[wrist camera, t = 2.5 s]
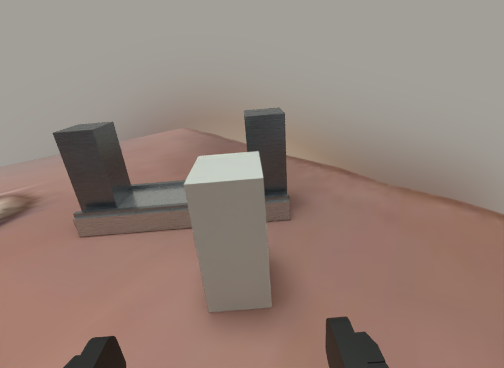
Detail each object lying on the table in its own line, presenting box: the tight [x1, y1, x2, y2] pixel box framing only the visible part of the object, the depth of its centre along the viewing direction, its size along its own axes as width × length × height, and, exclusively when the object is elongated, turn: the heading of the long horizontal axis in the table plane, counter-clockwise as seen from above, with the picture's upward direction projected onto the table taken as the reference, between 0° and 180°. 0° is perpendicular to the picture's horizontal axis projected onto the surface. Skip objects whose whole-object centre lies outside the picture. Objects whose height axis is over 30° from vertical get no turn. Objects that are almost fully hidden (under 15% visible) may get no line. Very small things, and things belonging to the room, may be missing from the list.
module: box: [184, 151, 272, 313], centre depth 22 cm, size 5×6×11 cm
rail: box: [53, 108, 290, 237], centre depth 34 cm, size 26×9×12 cm, turn 92°
